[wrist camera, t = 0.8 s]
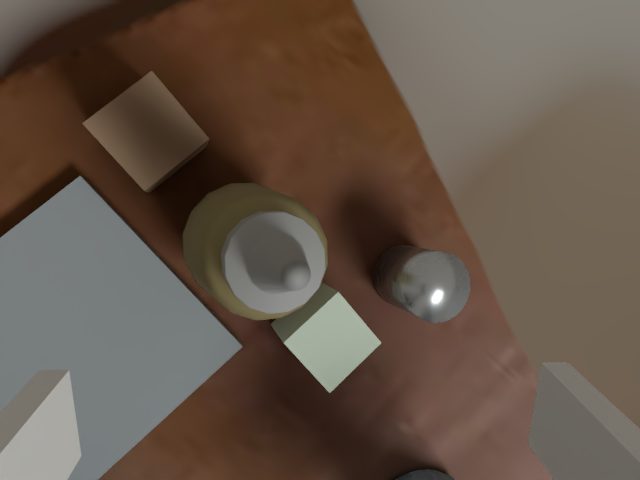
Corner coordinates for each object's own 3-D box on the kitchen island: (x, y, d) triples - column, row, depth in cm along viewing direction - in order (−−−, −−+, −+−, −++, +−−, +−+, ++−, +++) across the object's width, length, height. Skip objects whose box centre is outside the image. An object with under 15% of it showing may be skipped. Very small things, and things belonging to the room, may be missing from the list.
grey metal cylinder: (397, 317, 39) (434, 337, 33) (361, 273, 37) (393, 285, 32) (438, 276, 39) (482, 289, 34) (404, 232, 38) (444, 237, 32)
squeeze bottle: (157, 227, 33) (130, 255, 15) (250, 162, 34) (320, 121, 17) (227, 315, 35) (271, 426, 17) (312, 249, 36) (431, 292, 19)
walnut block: (150, 192, 32) (144, 191, 28) (97, 135, 31) (82, 123, 26) (205, 148, 33) (209, 138, 28) (156, 90, 32) (151, 70, 27)
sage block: (310, 368, 37) (329, 393, 32) (269, 324, 36) (283, 342, 31) (356, 325, 38) (381, 342, 33) (317, 280, 36) (338, 291, 32)
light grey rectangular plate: (41, 524, 32) (37, 534, 31) (-161, 366, 28) (-173, 371, 27) (241, 342, 35) (242, 346, 34) (83, 176, 31) (80, 175, 30)
